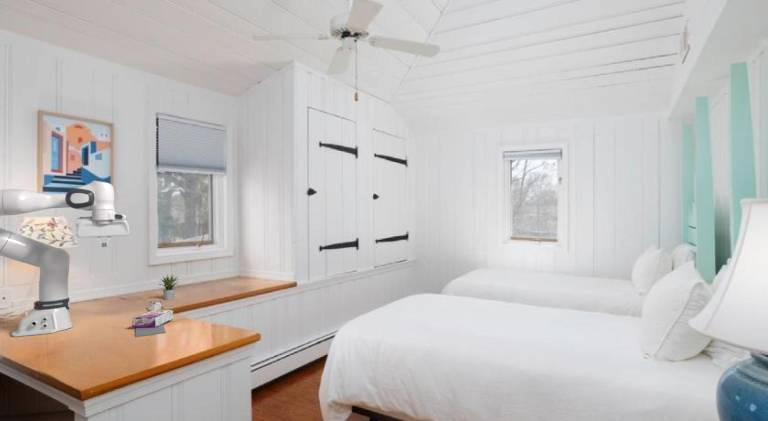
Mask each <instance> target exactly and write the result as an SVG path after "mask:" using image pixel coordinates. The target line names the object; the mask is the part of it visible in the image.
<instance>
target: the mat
mask: <svg viewBox="0 0 768 421" xmlns="http://www.w3.org/2000/svg"><path fill="white" fill-rule="evenodd" d="M161 334H166V329H165V326H164V323H163V324H161V325H159V326H157V327H147V328H135V338H139V337H146V336H153V335H154V336H155V335H161Z"/></svg>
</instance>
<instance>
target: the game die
mask: <svg viewBox="0 0 768 421" xmlns="http://www.w3.org/2000/svg"><path fill="white" fill-rule="evenodd" d="M145 310H146V311H147V312H150V311H158V310H166V308H164V306H163V305H162V300H160V301H154V302H153V301H151V300H150V301H149V305H148V306H147V308H145Z"/></svg>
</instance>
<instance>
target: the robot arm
mask: <svg viewBox="0 0 768 421" xmlns="http://www.w3.org/2000/svg"><path fill="white" fill-rule="evenodd" d="M115 201H116V200H115V189H114V186H113V184H112V183H111V182H109V181H105V180H99V179H96V180H92V181H91V182H90V183H87V184H86V185H83V186H79V187H75V188H72V189H70V190H68V191H67V192H66V193H55V194H49V193H41V192H36V191H32V190H26V189H17V188H13V189H12V188H11V189H9V188H8V189H0V217H1V216H16V215H23V214H28V213H29V214H30V213H32V212H38V211H43V210H48V209H63V208H64V209H65V208H71V209H75V210H80V211H81V210H83V211H87V212H88V211H91V216H79V217H78V218H76V219H75V226H76V237H77V238H78V239H80V238H81V239H83V238H96V240H97V241H98V243H99V246H100V248H108V247H109V243H110V241H111V239H112V237H126V236H129V235H131V231H130V224H129V221H127V216H126V215H125V214H122V213H119V212H116V207H115ZM102 237H103V238H105V237H106V239H107V241H106V242H102V241H101V240H102ZM0 257H3V258H7V259H10V260H14V261H17V262H21V263H24V264H27V265H31V266H33V267H36V268H37V267H38V268H39V282H38V300H35V301H34V303H33V310H32V311H30V312H29V313H27V315H25V316H24V317H22V319H20V320H19V323H18V325H17V326H18V327H17V329H16V330H14V331H12V333H11V337H13V338H15V337H27V336H37V335H45V334H53V333H58V332H60V331H64V330H68V329H70V328H73V327H74V325H73V322H72V319H71V315H70V307H71V306H70V304H71V303H70V297H69V283H68V282H69V275H70V274H69V273H70V255H69V253H68V251H66V250H65V249H63V248H60V247H55V246H52V245H49V244H46V243H45V242H41V241H38V240H35V239H33V238H30V237H27V236H25V235H21V234H18V233H15V232H13V231H9V230H7V229H4V228H2V227H0Z"/></svg>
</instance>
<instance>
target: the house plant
mask: <svg viewBox="0 0 768 421" xmlns="http://www.w3.org/2000/svg"><path fill="white" fill-rule="evenodd" d="M180 277H181V276H174V275H173V274H171V275H170V278H169V275H168V274H166V276H165V277H164V276H162V278H159V280H160V281H161V282H162V283H163V284H161V283H159V284H158V286H163V287H164V289H162V293H163V297H164V300H165V301H169V300H170V301H172V300H174V298H175V295H176V294H175V293H176V288H174V287H175V285H178V280H180V279H179V278H180ZM176 281H177V282H176Z"/></svg>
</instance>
